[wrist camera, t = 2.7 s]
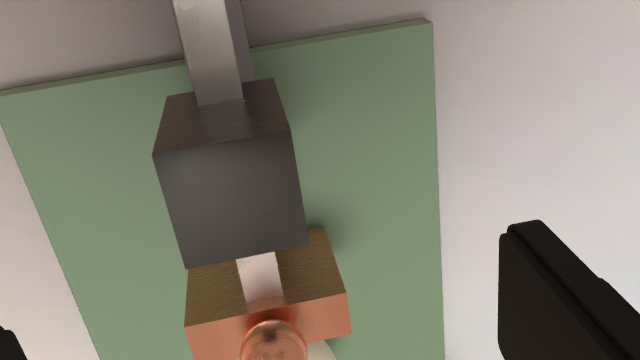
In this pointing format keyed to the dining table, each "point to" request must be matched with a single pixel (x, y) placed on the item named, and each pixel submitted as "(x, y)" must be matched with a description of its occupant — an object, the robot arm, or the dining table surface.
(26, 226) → the dining table surface
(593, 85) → the dining table surface
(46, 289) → the dining table surface
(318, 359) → the ball
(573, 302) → the robot arm
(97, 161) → the pitch
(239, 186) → the copper sphere contraption
